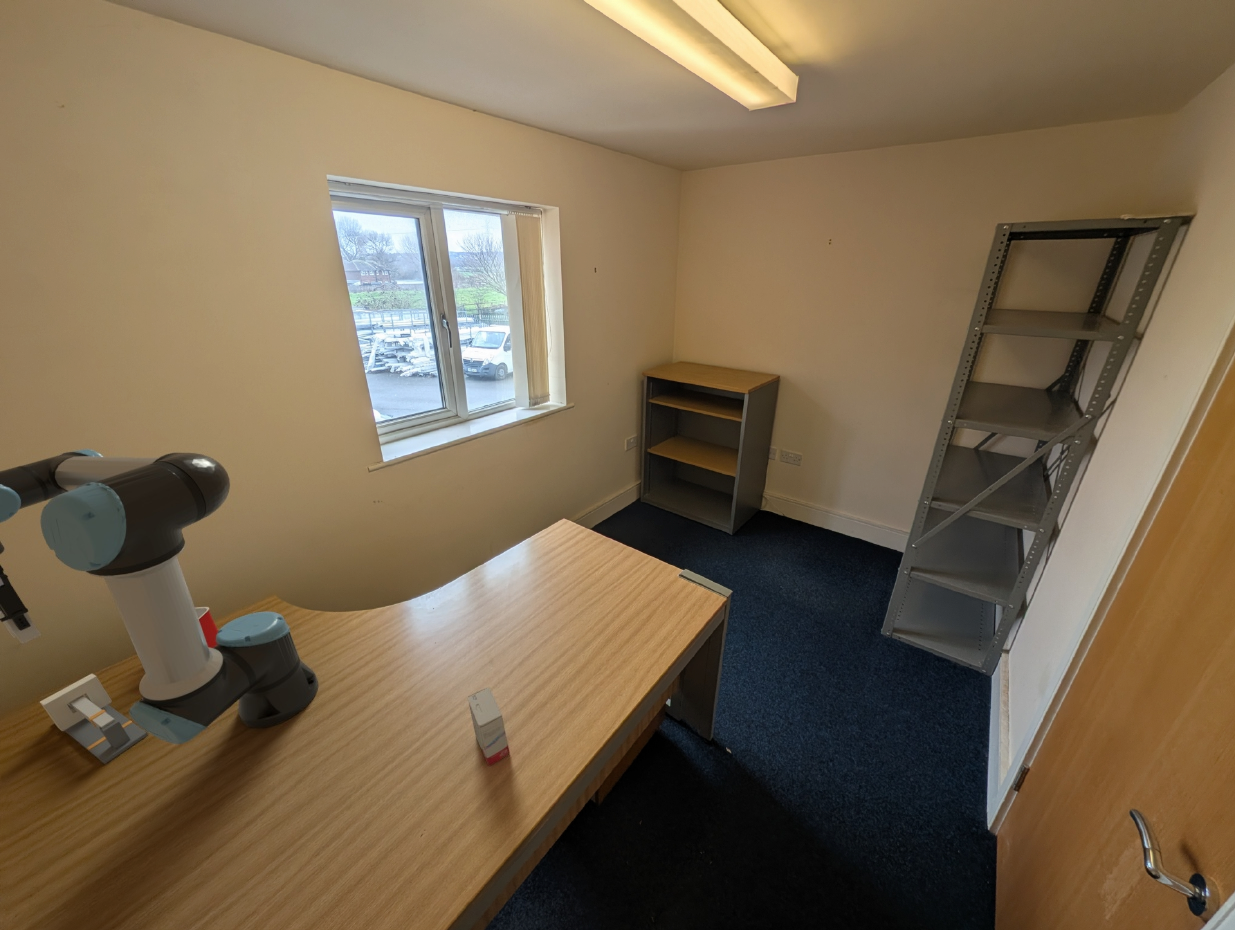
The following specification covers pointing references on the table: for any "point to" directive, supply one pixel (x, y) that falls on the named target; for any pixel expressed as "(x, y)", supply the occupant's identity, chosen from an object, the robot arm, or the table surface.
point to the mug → (207, 625)
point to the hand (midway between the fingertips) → (27, 636)
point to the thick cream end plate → (59, 700)
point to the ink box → (488, 725)
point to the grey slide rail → (103, 730)
